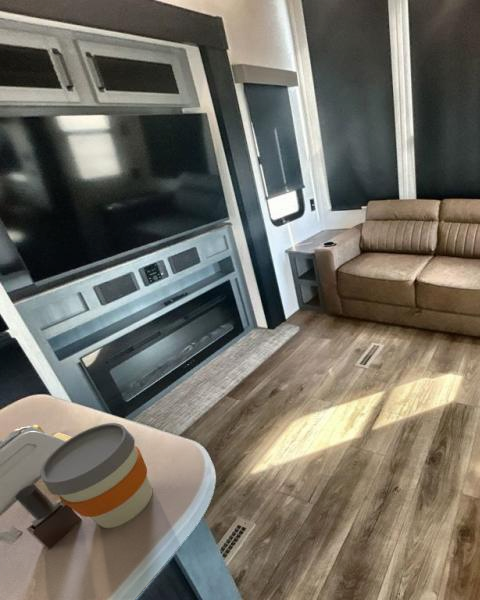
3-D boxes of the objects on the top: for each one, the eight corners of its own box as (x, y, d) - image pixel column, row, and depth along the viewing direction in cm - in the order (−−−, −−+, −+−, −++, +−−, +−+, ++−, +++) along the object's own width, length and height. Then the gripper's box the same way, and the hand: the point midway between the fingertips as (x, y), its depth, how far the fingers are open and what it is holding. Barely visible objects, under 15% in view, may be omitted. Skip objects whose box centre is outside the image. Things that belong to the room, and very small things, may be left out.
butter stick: (84, 449, 83) (76, 438, 81) (65, 464, 79) (56, 453, 78) (66, 442, 85) (58, 432, 84) (46, 456, 82) (37, 445, 80)
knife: (56, 546, 63) (15, 505, 58) (47, 541, 64) (6, 500, 59) (80, 523, 66) (44, 483, 61) (72, 519, 67) (35, 479, 62)
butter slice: (47, 436, 88) (39, 425, 86) (28, 449, 85) (19, 439, 83) (43, 434, 88) (34, 424, 87) (23, 447, 85) (14, 437, 84)
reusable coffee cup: (177, 482, 72) (143, 428, 65) (116, 548, 62) (68, 492, 55) (134, 468, 76) (98, 416, 69) (70, 527, 66) (20, 473, 59)
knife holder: (49, 549, 63) (32, 532, 60) (42, 545, 63) (25, 529, 61) (81, 520, 67) (67, 503, 65) (75, 516, 68) (60, 500, 65)
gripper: (21, 431, 69) (91, 465, 73) (-125, 545, 51) (-23, 584, 55) (27, 413, 67) (100, 450, 70) (-125, 528, 49) (-18, 570, 52)
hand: (45, 510), depth 62 cm, fingers open, 8 cm apart
